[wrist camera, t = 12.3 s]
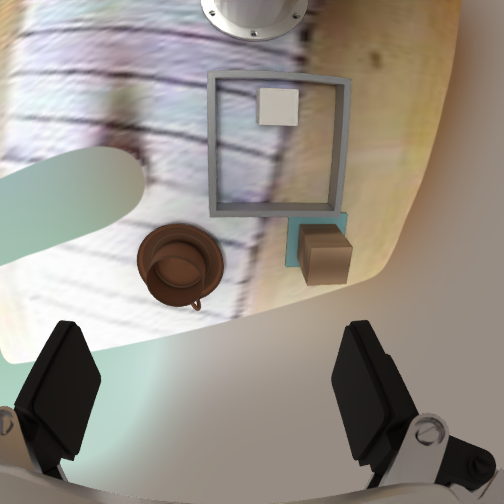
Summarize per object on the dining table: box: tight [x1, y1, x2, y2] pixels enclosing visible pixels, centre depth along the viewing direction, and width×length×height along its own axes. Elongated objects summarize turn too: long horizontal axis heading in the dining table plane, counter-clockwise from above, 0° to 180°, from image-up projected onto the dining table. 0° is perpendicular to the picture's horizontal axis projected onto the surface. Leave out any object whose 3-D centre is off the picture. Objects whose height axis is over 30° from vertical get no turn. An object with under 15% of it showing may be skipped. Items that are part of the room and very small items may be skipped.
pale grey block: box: [256, 88, 299, 126], centre depth 32 cm, size 4×4×5 cm
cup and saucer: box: [137, 224, 224, 311], centre depth 40 cm, size 12×12×6 cm
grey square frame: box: [207, 70, 351, 218], centre depth 34 cm, size 17×16×3 cm
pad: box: [285, 212, 348, 267], centre depth 42 cm, size 8×8×1 cm
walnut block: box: [297, 224, 353, 286], centre depth 38 cm, size 5×5×7 cm
